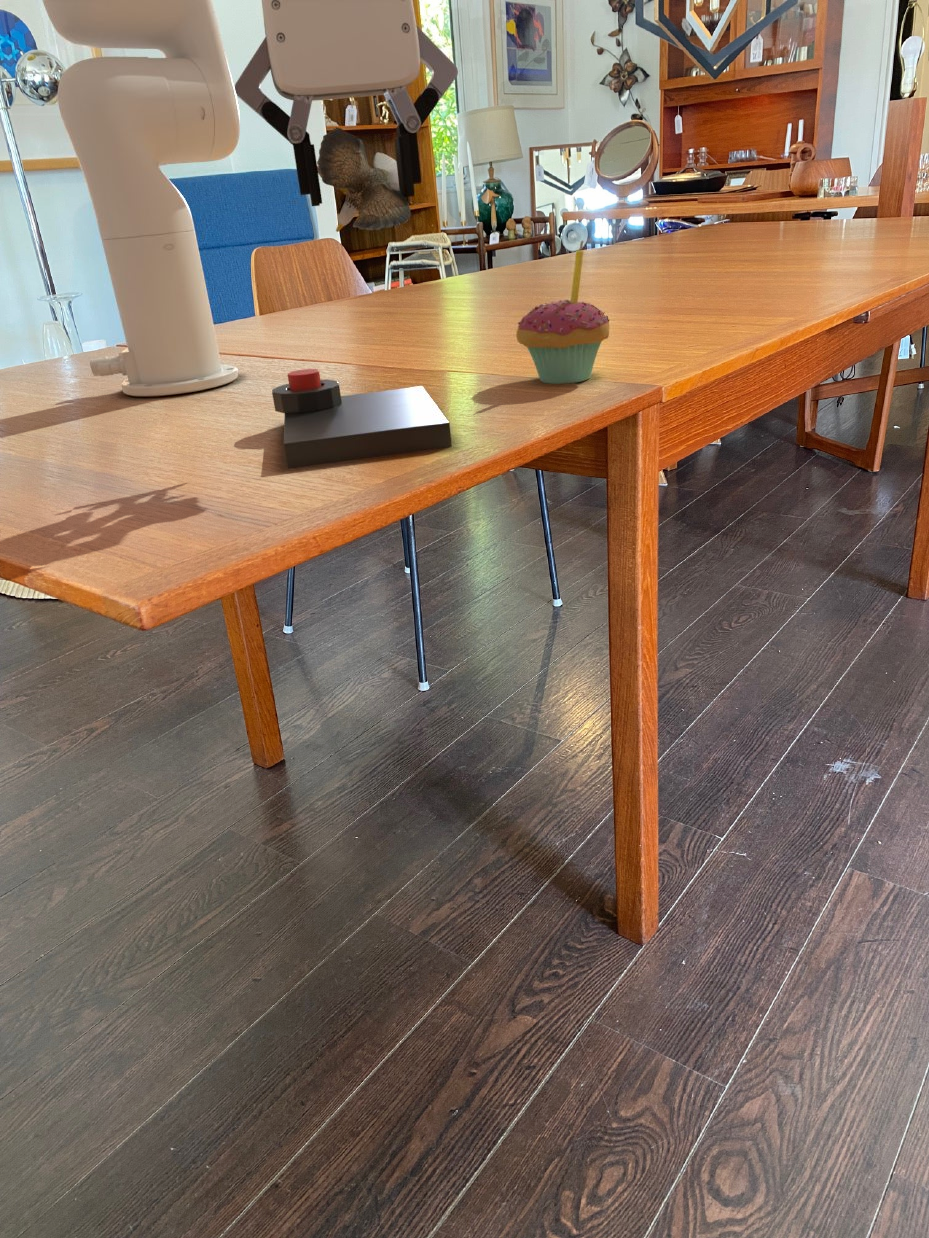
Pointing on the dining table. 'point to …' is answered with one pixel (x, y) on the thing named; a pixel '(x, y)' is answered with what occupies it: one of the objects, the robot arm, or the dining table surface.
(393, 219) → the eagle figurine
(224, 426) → the dining table surface
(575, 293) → the cupcake
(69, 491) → the dining table surface
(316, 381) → the button
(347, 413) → the dark grey flat block
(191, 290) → the robot arm
